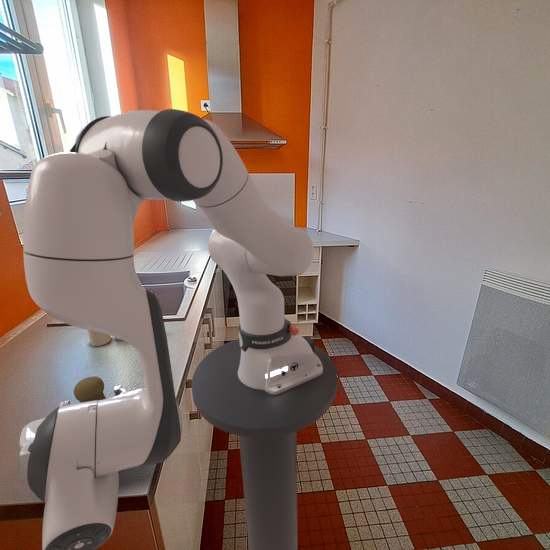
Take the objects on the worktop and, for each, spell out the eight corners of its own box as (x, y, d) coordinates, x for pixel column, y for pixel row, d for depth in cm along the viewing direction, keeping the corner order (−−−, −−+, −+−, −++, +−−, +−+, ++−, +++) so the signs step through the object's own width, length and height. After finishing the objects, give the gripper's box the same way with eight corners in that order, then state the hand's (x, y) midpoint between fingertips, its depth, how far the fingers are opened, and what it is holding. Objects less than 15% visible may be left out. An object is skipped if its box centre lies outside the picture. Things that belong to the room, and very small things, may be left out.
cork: (122, 417, 65) (111, 375, 61) (97, 440, 59) (84, 395, 56) (101, 410, 67) (89, 369, 63) (75, 432, 61) (61, 388, 58)
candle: (105, 335, 99) (98, 307, 96) (114, 340, 96) (107, 312, 93) (88, 343, 95) (80, 314, 92) (96, 348, 92) (88, 319, 89)
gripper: (151, 409, 53) (144, 366, 65) (5, 458, 45) (27, 400, 57) (157, 436, 55) (149, 390, 67) (18, 488, 47) (37, 426, 59)
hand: (93, 395), depth 62 cm, fingers open, 8 cm apart
